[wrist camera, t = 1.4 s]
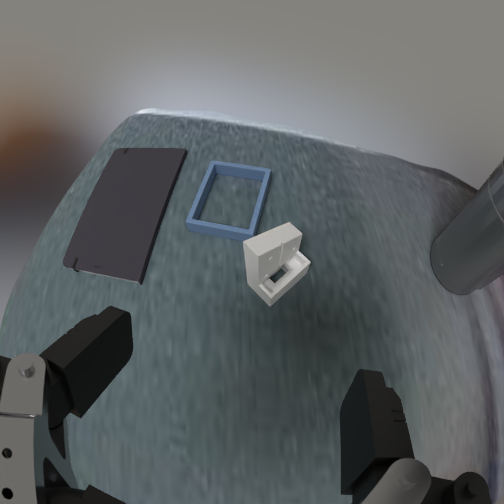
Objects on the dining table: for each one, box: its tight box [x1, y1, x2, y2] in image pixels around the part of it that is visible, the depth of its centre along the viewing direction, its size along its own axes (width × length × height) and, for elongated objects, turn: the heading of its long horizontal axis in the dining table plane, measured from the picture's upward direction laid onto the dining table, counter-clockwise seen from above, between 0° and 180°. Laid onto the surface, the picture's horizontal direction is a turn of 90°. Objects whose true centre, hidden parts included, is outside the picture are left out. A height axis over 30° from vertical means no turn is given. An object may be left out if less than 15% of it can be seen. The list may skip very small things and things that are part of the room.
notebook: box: [63, 148, 187, 285], centre depth 38 cm, size 13×2×21 cm
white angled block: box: [243, 222, 311, 307], centre depth 30 cm, size 4×10×9 cm, turn 132°
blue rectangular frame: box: [186, 161, 271, 241], centre depth 37 cm, size 8×10×2 cm
